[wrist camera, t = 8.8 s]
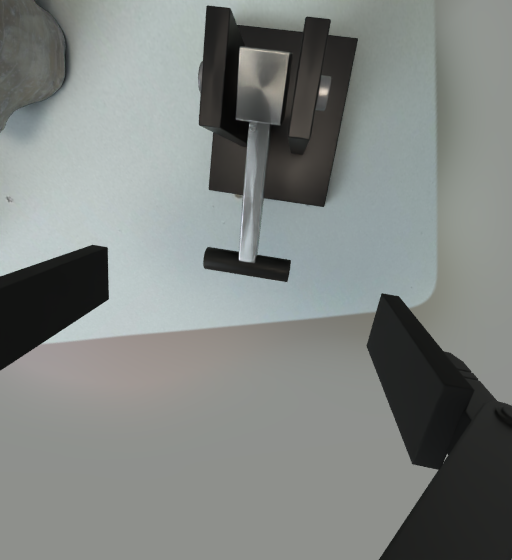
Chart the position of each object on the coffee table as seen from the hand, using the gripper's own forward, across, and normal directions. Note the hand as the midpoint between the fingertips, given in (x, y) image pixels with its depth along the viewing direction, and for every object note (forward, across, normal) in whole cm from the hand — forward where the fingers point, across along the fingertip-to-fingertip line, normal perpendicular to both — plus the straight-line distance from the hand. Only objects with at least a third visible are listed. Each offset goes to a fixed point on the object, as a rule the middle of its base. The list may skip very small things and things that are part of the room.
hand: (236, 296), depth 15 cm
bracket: (+15, -1, +10) cm, 18 cm away
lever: (+6, 0, +5) cm, 8 cm away
